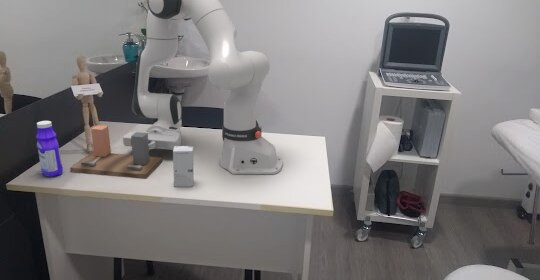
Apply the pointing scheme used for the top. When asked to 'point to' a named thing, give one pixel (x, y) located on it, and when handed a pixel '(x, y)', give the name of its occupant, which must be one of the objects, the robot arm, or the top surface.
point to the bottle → (48, 149)
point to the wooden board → (115, 165)
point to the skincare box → (183, 166)
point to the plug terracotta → (101, 140)
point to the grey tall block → (140, 148)
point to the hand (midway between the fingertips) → (143, 148)
